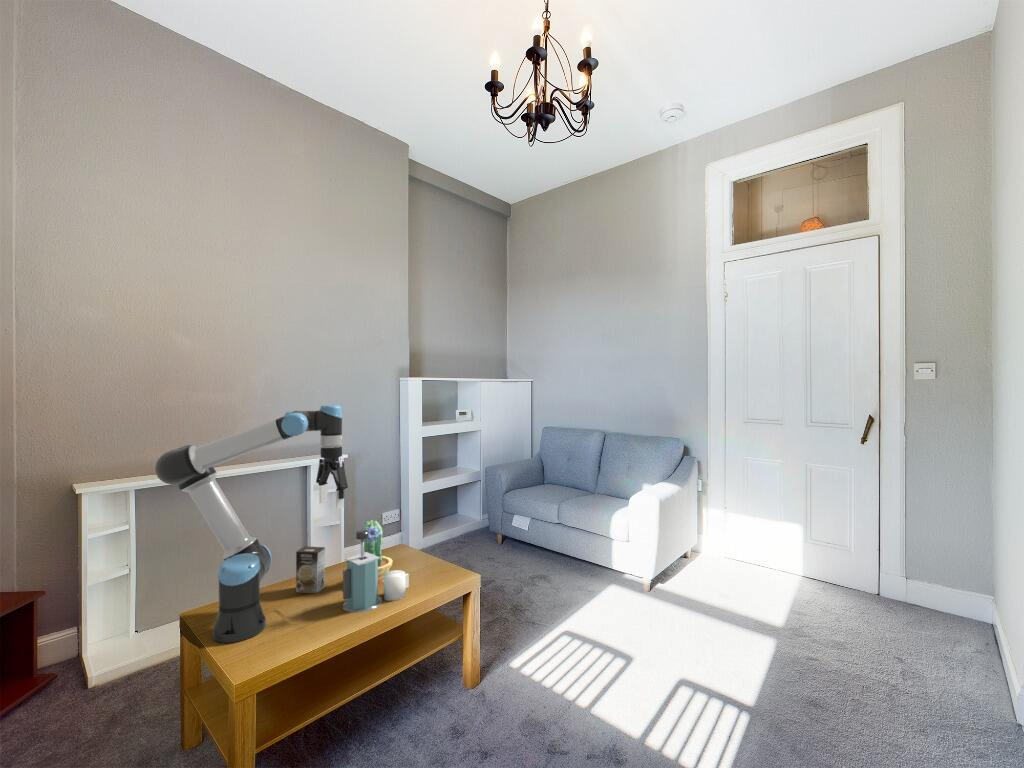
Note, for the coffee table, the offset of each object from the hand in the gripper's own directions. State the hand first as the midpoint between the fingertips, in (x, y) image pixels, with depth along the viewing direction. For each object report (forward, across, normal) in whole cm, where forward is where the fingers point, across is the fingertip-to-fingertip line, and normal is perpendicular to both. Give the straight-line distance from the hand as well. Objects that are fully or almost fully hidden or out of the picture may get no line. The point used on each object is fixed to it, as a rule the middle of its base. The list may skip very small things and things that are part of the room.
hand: (331, 505), depth 174 cm
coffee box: (+36, +17, 0) cm, 40 cm away
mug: (+36, -15, -18) cm, 43 cm away
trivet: (+36, -11, -6) cm, 38 cm away
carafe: (+35, -11, -5) cm, 37 cm away
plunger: (+26, -11, -6) cm, 29 cm away
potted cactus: (+36, +4, -20) cm, 42 cm away
